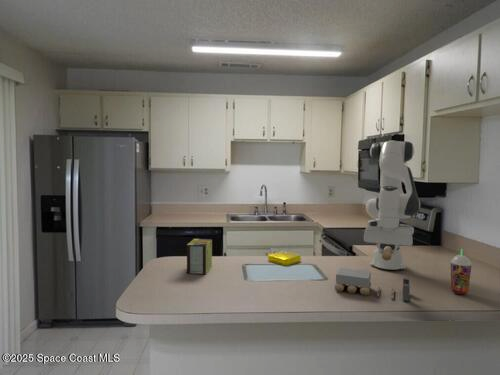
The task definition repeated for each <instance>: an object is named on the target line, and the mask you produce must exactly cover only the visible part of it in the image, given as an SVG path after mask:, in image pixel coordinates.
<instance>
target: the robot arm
mask: <svg viewBox="0 0 500 375" xmlns="http://www.w3.org/2000/svg"><path fill="white" fill-rule="evenodd" d="M414 147H415V146H414V145H413V142H410V141H401V140H400V141H398V140H388V141H381V142H379V141H377V142H374V143H372V144H371V147H370V148H369V154H370V157H371V160H372V161H375V162H379V163H378V164H379V169H380V170H379V171H380V176H379V177H380V179H379V183H380V184H379V186H380V189H379V195H378V196H376V197H375V198H371V199H368V200H367V202H366V203H365V204H366V205H365V211H366V213H367V215H369V216H370V217H371V218H372V219H370V220H368V221H366V222H367V223H366V227H365V230H364V232H363V233H364V234H363V241H364V242H365V243H370V244H371V243H372V244H376V247H377V248H376V249H375V250H374V251H373V260H372V261H370V263H369V265H371V266H374V267H376V268H379V269H384V270H395V271H396V270H400V269H406V266H405V264H404V263H403V253H402V252H401V251H400V250H401V246H404V247H411V246H412V245H413V242H414V241H413V235H414V233H415V228H414V226H413V225H411V224H409V223H407V224H405V223H400V219H401V220H402V219H409V218H411V217H414V216H415V215H417V214H418V213H419V212H420V208H421V201H420V198H419V196H418V192H417V189H416V185H415V181H414V177H413V173H412V170H411V168H410V167H409V166H408V165H406V163H407V162H409V161H411V160H412V159H413V156H414V154H415V148H414ZM402 183H403V184H402ZM402 185H404V187H405V191H406V193H404V191H403V187H402ZM385 247H390V248H391V249H392V256H391V259H390V260H384V259H383V258H382V253H383V250H384V248H385Z"/></svg>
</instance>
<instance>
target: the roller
mask: <svg viewBox="0 0 500 375" xmlns="http://www.w3.org/2000/svg"><path fill="white" fill-rule="evenodd" d="M391 256H392V249H391V248H390V247H385V248H384V250H383V253H382V258H383V259H384V260H390V259H391Z"/></svg>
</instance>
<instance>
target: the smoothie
mask: <svg viewBox="0 0 500 375" xmlns="http://www.w3.org/2000/svg"><path fill="white" fill-rule="evenodd" d="M449 262H450V285H451V286H450V289H452V292H453V293H455V294H459V295H466V294H467V293H468V292H469V289H470V282H471V281H470V280H471V279H470V278H471V273H472V265H473V264H472V262H471V260H470V259H469V257H467V255H463V249H462V248H461V249H460V254H457V255H454V257H452V259H451V260H450V261H449Z"/></svg>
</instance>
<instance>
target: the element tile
mask: <svg viewBox="0 0 500 375" xmlns="http://www.w3.org/2000/svg"><path fill="white" fill-rule="evenodd" d="M267 260H268V262H271V263H275V264H278V265H281V266H284V267H285V266H291V265H295V264H298V263H301V261H302V256H301V254H298V253H293V252H290V251H285V250H282V251H278V252H273V253H270V254H268V255H267Z"/></svg>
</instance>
